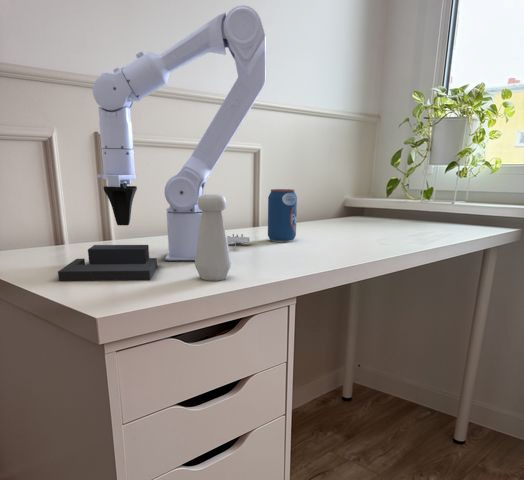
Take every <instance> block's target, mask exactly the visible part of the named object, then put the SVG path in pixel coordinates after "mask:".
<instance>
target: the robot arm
mask: <svg viewBox="0 0 524 480" xmlns="http://www.w3.org/2000/svg"><path fill="white" fill-rule="evenodd" d="M266 37H267V36H266V32H265V28H264V25H263V22H262V19H261V16H260V14H259V13H258V12H257V11H256V10H255V9H254V8H253V7H251V6H249V5H246V4H239V5H236V6H234V7H232V8H231V9H230V10H229V11H228V12H227V13H226V12H223V13H219V14H218V15H217V16H215V17H213V18H212V19H211V20H209V21H208V22H206V23H205V24H203V25H201V26H200V27H199V28H197V29H196V30H194V31H193V32H191V33H190V34H188V35H187V36H185V37H184V38H183V39H181V40H179V41H178V42H176V43H175V44H174V45H172V46H170V47H168V49H166V50H164V51H162V52H161V53H156V52H153V51H147V52H146V53H144V51H142V50H141V51H139V52H137V53H136V54H135V57H136V59H134V60H132V61H131V62H129V63H127V64H126V65H124V66H122V67H120V68H119V67H115V68H113V70H112V72H113V73H112V72H103V73H102V74H101V75H100V76H98V77H97V79H96V80H95V81H94V83H93V86H92V94H93V98H94V100H95V102H96V104H97V105H98V107H97V109H98V118H99V119H98V120H99V122H98V127H99V136H100V137H99V139H100V147H101V158H102V159H101V161H102V171H103V174H101V173H100V174H96V178H97V179H103V180H106V181H107V185H105V186H103V192H104V193H105V195H106V196H107V198H108V200H109V202H110V205H111V209H112V213H113V216H114V219H115V223H116V225H117V226H130V222H131V217H132V216H131V215H132V206H133V201H134V198H135V194H136V192H137V190H138V187H137V185H132V180H133V181H134V180H137V174H136V168H135V167H136V164H135V150H134V136H133V135H134V134H133V123H132V118H131V117H132V116H131V115H132V114H131V109H132V107H133V105H134V102H139V101H142V100H143V99H144V98H146V97H148V96H149V95H152V94H153V93H155V92H156V91H158V90H160V89H161V88H163V87H165V86H167V85H168V82H169V77H170V75H171V73H173V72H175V71H177V70H179V69H181V68H182V67H184V66H186V65H188V64H190V63H192V62H193V61H196V60H197V59H199V58H202V57H203V56H205V55H207V54H209V53H212V54H218V55H223V56H226V55H227V52H226V49H228V51H229V52H230V54H231V57H232V58H233V61H234V63H235V68H236V73H237V78H236V79H235V82H234V83H233V85H232V86H231V89H230V90H229V92H228V93H227V94H226V97H225V98H224V100H223V102H222V103H221V104H220V107H219V108H218V110H217V111H216V113H215V115H214V117H213V118H212V120H211V122H210V124H209V125H208V127H207V129H206V130H205V132H204V133H203V135H202V137H201V138H200V140H199V142H198V143H197V145H196V147H195V149H194V150H193V152H192V153H191V155H190V156H189V158H188V159H187V161H186V162H185V163H183V166H182V168H180V171H178V173H176V174H175V175H173V176H171V177H170V178H169V179H168V180H167V181H166V183H165V186H164V197H165V200H166V202H167V204H169V207H167V208H166V209H165V210H166V225H167V244H168V245H167V247H168V252H167V254H166V256H165V258H164V260H165V261H195V257H196V250H197V243H198V236H199V230H200V223H201V216H202V210H200V209H199V208H198V198H199V197H200V196H201V195H204V191H205V189H204V188H205V186H206V183H207V182H208V181H209V178H210V176H211V174H212V172H213V170H214V169H215V167H216V165H217V164H218V162H219V161H220V159H221V158H222V155H223V154H224V152H225V151H226V149H227V148H228V146H229V145H230V143H231V142H232V139H233V138H234V136H235V135H236V133H237V131H238V130H239V129H240V126H241V125H242V123H243V121H245V118H246V117H247V115H248V114H249V112H250V110H251V109H252V107H253V106H254V104H255V102H256V100H258V97H259V96H260V94H261V92H262V91H263V90H264V87H265V85H266V79H267V78H266V76H267V73H266V72H267V71H266V69H267V68H266V67H267V66H266V61H267V59H266V58H267V56H266V55H267V53H266V45H267V41H266V40H267V39H266Z"/></svg>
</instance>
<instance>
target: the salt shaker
mask: <svg viewBox="0 0 524 480" xmlns="http://www.w3.org/2000/svg"><path fill="white" fill-rule="evenodd" d="M198 208H199V209H200V210H202V216H201V223H200V230H199V236H198V243H197V250H196V257H195V260H194V267H195V269H196V271H197V274H198V276H199V278H200V279H202V280H203V281H213V282H217V281H222V280H223V281H224V280H226V279H227V276H228V273H229V271H230V270H231V267H232V258H231V254H230V248H229V243H227V238H226V237H227V232H226V229H225V228H226V227H225V222H224V218H223V217H224V216H223V212H222V211H224V210H226V208H227V200H226V197H225V196H224V195H223V194H218V193H205V194H204V193H203V195H201V196H200V197H199V198H198Z"/></svg>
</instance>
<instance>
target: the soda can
mask: <svg viewBox="0 0 524 480" xmlns="http://www.w3.org/2000/svg"><path fill="white" fill-rule="evenodd" d="M295 191H296V190H295V189H290V188H288V189H286V188H273V189H270V193H269V195H268V197H267V237H268V239H269V240H270V241H271V242H275V243H290V242H294V240H295V238H296V236H297V214H298V212H297V210H298V209H297V208H298V197H297V194H296V192H295Z"/></svg>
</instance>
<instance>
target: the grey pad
mask: <svg viewBox="0 0 524 480" xmlns="http://www.w3.org/2000/svg"><path fill="white" fill-rule="evenodd" d="M149 247H150V246H149V244H94V245H92V246H91V247H89V248H88V249H87V255H88V265H89V264H145V263H146V262H147V261H148V259H149V258H150V249H149Z"/></svg>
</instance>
